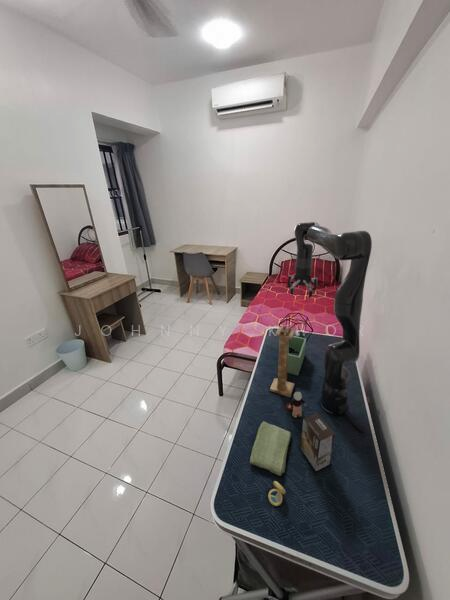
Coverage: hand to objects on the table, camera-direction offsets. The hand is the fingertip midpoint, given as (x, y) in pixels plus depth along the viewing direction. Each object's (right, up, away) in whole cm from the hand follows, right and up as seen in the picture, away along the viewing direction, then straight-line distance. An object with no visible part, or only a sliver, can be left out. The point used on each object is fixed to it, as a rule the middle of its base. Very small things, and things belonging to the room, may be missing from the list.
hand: (301, 295), depth 122 cm
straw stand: (-10, -45, -4) cm, 46 cm away
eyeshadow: (-23, -66, -45) cm, 83 cm away
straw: (0, -36, +10) cm, 37 cm away
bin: (-2, -37, +11) cm, 39 cm away
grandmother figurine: (-8, -52, -19) cm, 56 cm away
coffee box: (-6, -59, -35) cm, 69 cm away
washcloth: (-22, -59, -31) cm, 70 cm away
